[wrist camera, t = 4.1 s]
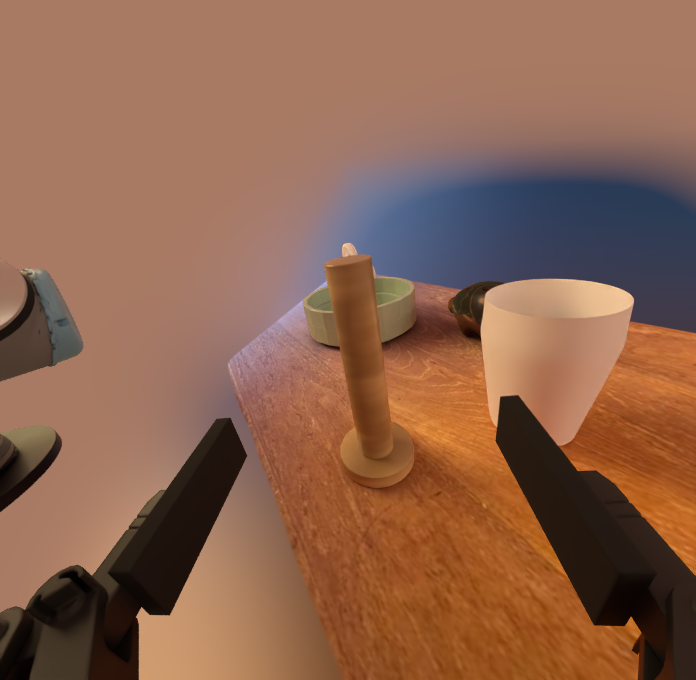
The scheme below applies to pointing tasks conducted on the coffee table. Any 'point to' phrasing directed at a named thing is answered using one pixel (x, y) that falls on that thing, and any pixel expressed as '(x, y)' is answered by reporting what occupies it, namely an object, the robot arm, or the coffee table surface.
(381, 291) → the bowl
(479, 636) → the coffee table surface
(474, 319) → the decorative turtle
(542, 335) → the cup
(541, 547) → the coffee table surface
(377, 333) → the wooden peg stand
